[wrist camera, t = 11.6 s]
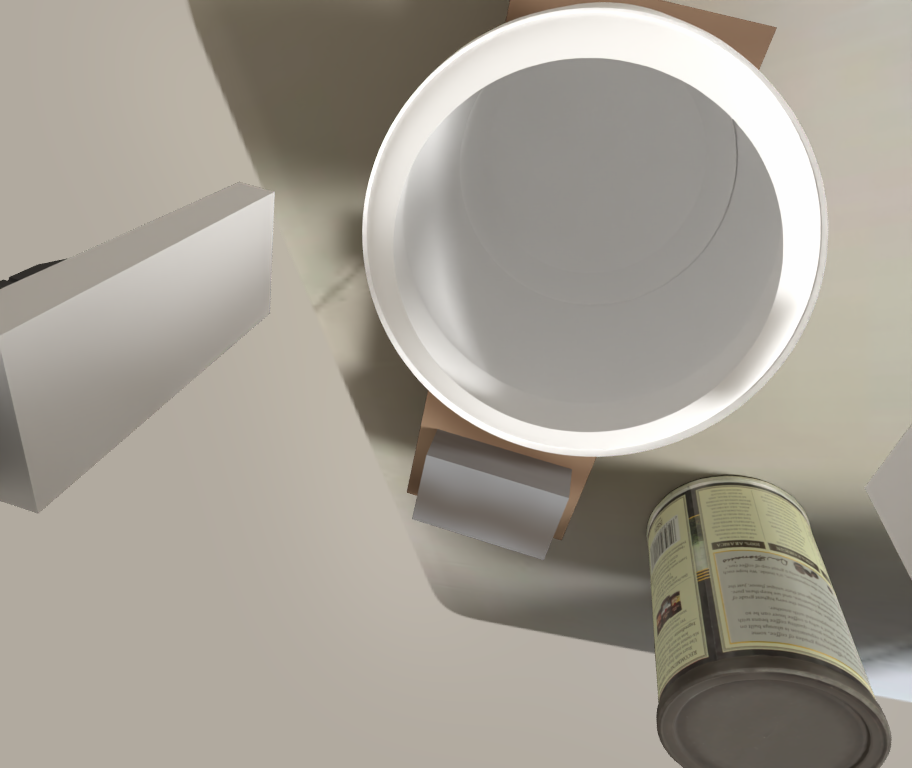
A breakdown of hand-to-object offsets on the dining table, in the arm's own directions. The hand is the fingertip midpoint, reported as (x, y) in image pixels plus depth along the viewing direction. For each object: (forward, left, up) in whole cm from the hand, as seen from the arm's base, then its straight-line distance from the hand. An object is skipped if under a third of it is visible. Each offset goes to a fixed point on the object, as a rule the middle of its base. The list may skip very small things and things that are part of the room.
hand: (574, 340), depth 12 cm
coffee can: (-16, +22, -23) cm, 35 cm away
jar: (0, -1, -18) cm, 18 cm away
